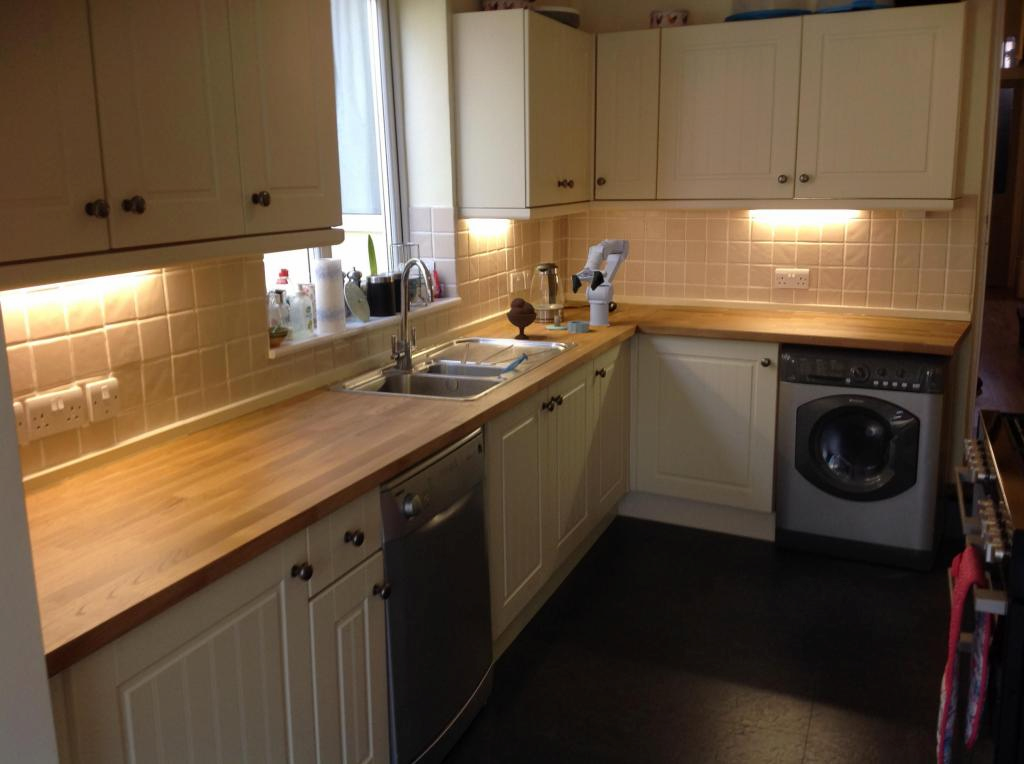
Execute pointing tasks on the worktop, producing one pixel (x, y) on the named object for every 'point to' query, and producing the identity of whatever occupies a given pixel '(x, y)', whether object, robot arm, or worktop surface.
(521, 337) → the ice cream bowl
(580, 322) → the bowl
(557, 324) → the lid
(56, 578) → the worktop surface
